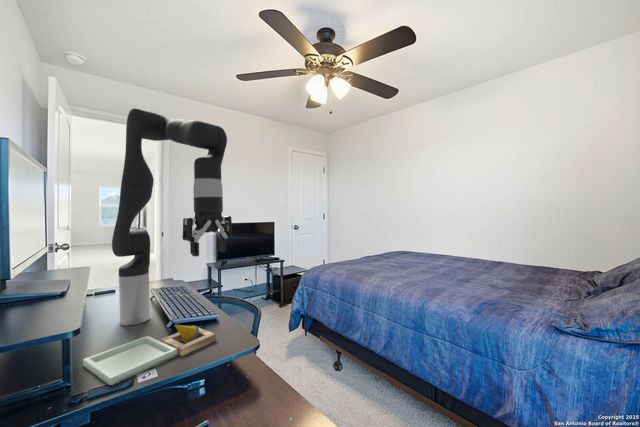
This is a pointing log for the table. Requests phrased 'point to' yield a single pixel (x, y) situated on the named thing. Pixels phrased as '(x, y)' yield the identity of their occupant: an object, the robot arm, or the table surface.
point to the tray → (129, 359)
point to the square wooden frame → (186, 348)
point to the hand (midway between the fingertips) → (209, 253)
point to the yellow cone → (188, 332)
